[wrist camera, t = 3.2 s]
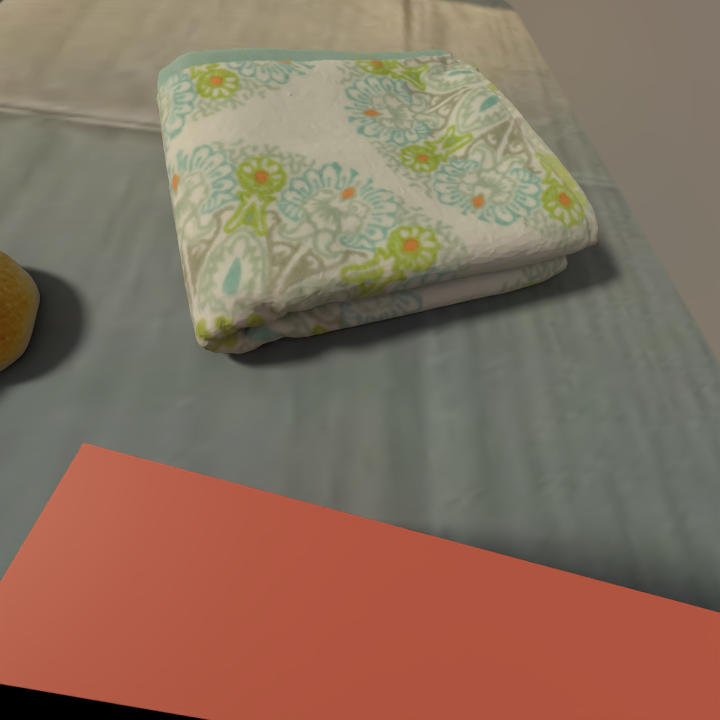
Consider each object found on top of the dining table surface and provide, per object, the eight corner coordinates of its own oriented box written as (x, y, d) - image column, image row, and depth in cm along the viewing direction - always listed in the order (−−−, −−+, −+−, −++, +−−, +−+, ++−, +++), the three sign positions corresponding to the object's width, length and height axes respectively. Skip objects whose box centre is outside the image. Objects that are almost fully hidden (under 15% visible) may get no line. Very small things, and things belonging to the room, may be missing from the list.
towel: (575, 283, 21) (641, 215, 17) (209, 370, 17) (166, 310, 13) (452, 107, 29) (475, 26, 24) (174, 138, 25) (139, 47, 20)
